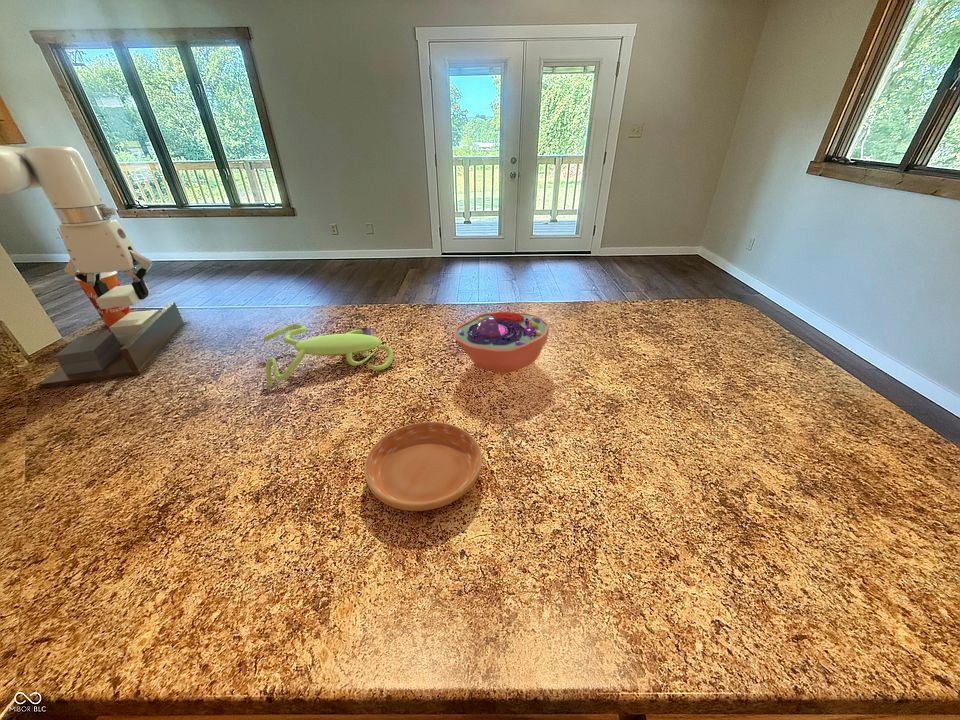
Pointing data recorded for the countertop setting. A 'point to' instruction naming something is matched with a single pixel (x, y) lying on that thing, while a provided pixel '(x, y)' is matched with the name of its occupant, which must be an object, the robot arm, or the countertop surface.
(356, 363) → the figurine
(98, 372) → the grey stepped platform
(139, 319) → the white stack
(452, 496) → the saucer
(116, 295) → the cream flat block
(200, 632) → the countertop surface
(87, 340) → the grey stack
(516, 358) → the cell model
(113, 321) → the paper cup
